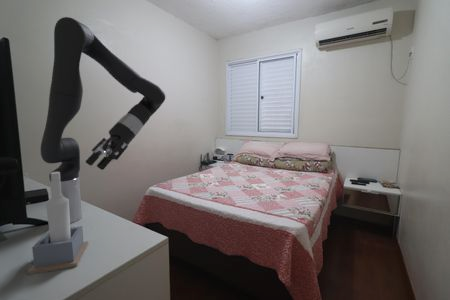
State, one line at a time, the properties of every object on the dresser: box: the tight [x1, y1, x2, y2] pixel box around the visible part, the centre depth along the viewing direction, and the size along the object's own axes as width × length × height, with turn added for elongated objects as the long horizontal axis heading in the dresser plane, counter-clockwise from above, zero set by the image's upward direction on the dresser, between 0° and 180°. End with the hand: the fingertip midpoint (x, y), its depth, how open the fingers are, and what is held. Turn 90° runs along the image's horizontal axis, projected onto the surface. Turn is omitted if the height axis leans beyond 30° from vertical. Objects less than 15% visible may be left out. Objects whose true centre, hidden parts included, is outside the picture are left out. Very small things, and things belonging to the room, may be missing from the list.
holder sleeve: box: [27, 226, 89, 275], centre depth 62 cm, size 11×11×7 cm
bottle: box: [45, 171, 71, 243], centre depth 61 cm, size 5×5×25 cm
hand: (93, 166), depth 67 cm, fingers open, 8 cm apart
